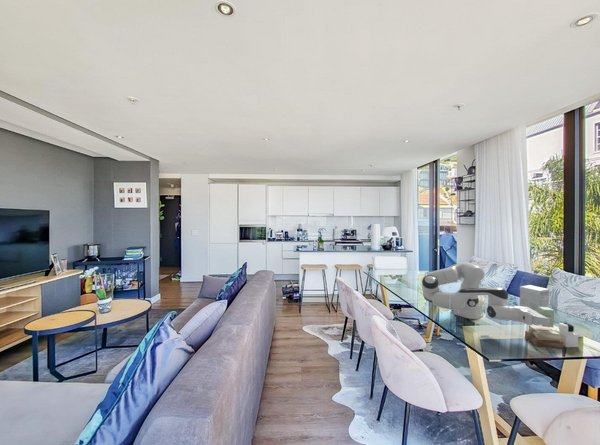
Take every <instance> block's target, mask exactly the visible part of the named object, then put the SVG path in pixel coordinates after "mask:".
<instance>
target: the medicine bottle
mask: <svg viewBox="0 0 600 445" xmlns="http://www.w3.org/2000/svg"><path fill="white" fill-rule="evenodd" d="M553 330H554V331H556V332H557V333H559V334H560V341H562V342H563V348H564V347H565V348H578V346H579V334H577V333H575V332H574V331H575V327H574V325H572V324H571V323H567V322H559V324H558V329H553Z"/></svg>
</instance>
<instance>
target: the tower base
mask: <svg viewBox="0 0 600 445" xmlns="http://www.w3.org/2000/svg"><path fill="white" fill-rule="evenodd" d="M524 338H525V339H527V340H529V342H531V343H532V344H533V345H535V347H537V348H545V349H556V350H563V349H564V346H563V342H562V341H552V340H541V339H538V338H537V337H535V336H534V335H532V334H531V333H530V332H528V330H525V331H524Z"/></svg>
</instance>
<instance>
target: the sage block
mask: <svg viewBox="0 0 600 445" xmlns="http://www.w3.org/2000/svg"><path fill="white" fill-rule="evenodd" d="M538 313H540V314H541V315H543V316H545V317H547V316H550V317H552V320H549V325H540V326H543V327H549V328H554V322H555V310H554V309H552V308H550V307H538Z"/></svg>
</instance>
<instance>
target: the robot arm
mask: <svg viewBox="0 0 600 445" xmlns="http://www.w3.org/2000/svg"><path fill="white" fill-rule="evenodd" d="M485 275H486V274H485V271H484V270H483V269H482V268H481V267H480V265H476V264H473V263H471V262H469V261H460V262H458V263H457V264H454V265H452V266H449V267H446V268H441V269H437V270H434V271H431V272H429V273H427V275H425V276H424V277H423V278H422V280H421V290H422V296H423V297H424V300H425V301H427V302H429V303H431V304H433V305H434V306H436V307H439V308H443V309H447V310H452V312H453V315H456V316H459V317H461V318H465V319H469V320H470V319H471V320H478V319H481V318H483V317H484V315H483V314H482V311H481V310H482V308H481V307H482V306H481V305H480V304H479V302H480V299H479V296H487V298H488V299H487V300H488V301H487V307H486V313H487V315H488V317H489V318H491V319H493V320H497V321H503V322H504V321H512V322H516V323H517V322H519V323H522V324H525V325H528V326H529V325H533V326H541V325H549V320H552V317H550V316H547V317H545V316H543V315H541V314H540V313H538V311H534V310H533V309H531V308H529V307H526V306H520V305H509V306H508V297H509V293H508V291H506V289H505V288H503V287H499V286H496V287H495V286H494V287H480V284H481V281H482V280H483V279H484V278H485ZM461 279H463V281H462V282H461V284H460V289H459V290H458V291H457V292H447V291H445V292H444V291H442V290H440V287H439V286H443V285H448V284H452V283H457V282H458V280H461Z"/></svg>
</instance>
